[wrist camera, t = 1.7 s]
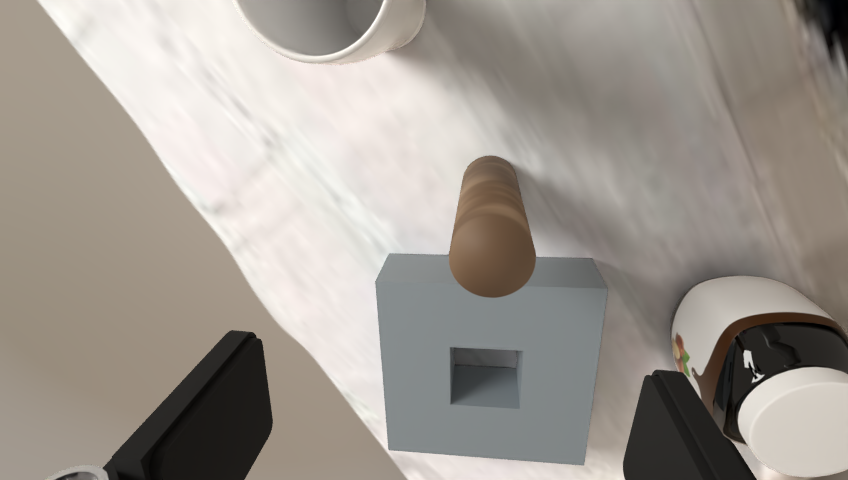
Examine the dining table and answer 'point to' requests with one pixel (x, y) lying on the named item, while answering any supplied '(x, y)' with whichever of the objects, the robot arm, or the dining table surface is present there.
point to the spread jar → (767, 371)
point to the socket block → (490, 386)
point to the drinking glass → (333, 27)
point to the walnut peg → (491, 231)
